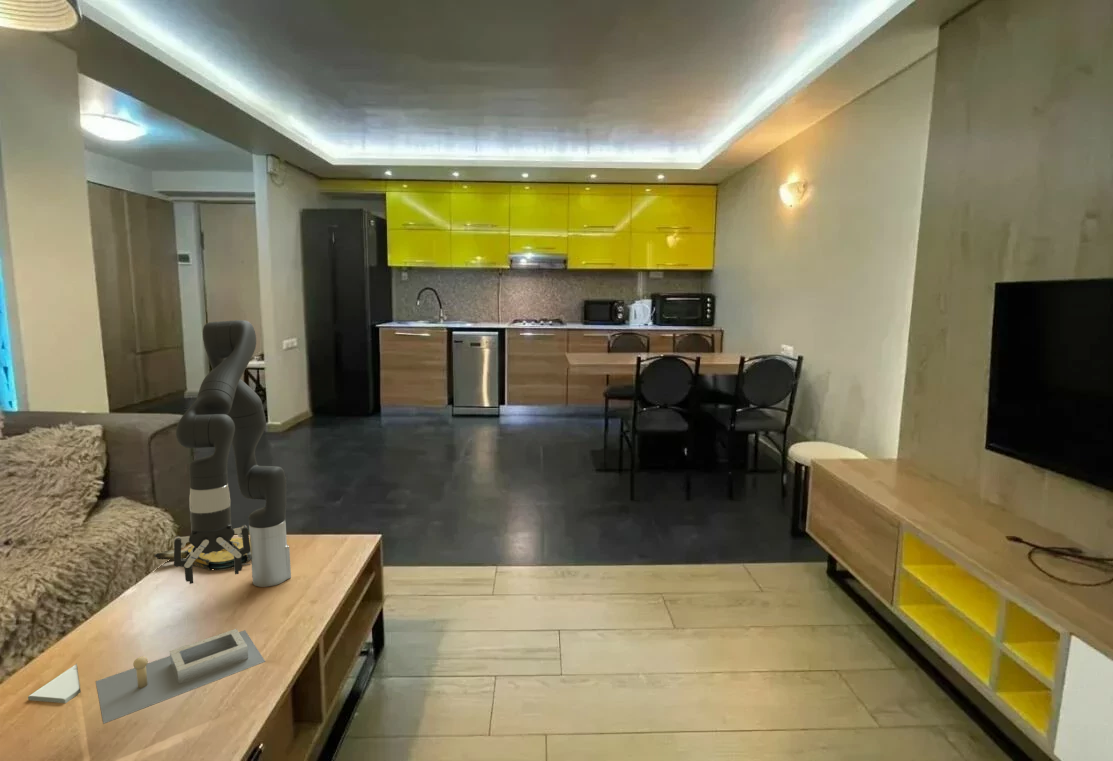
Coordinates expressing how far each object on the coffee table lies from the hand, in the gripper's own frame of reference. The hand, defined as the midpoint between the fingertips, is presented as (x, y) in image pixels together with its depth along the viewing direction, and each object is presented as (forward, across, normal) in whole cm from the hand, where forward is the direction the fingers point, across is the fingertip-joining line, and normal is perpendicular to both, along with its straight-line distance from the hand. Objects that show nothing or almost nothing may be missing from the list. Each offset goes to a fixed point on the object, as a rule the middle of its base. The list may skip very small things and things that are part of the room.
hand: (214, 577), depth 126 cm
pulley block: (+18, -1, -57) cm, 60 cm away
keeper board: (+19, +7, +3) cm, 21 cm away
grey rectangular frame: (+18, +2, +2) cm, 18 cm away
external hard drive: (+20, +26, -8) cm, 33 cm away
